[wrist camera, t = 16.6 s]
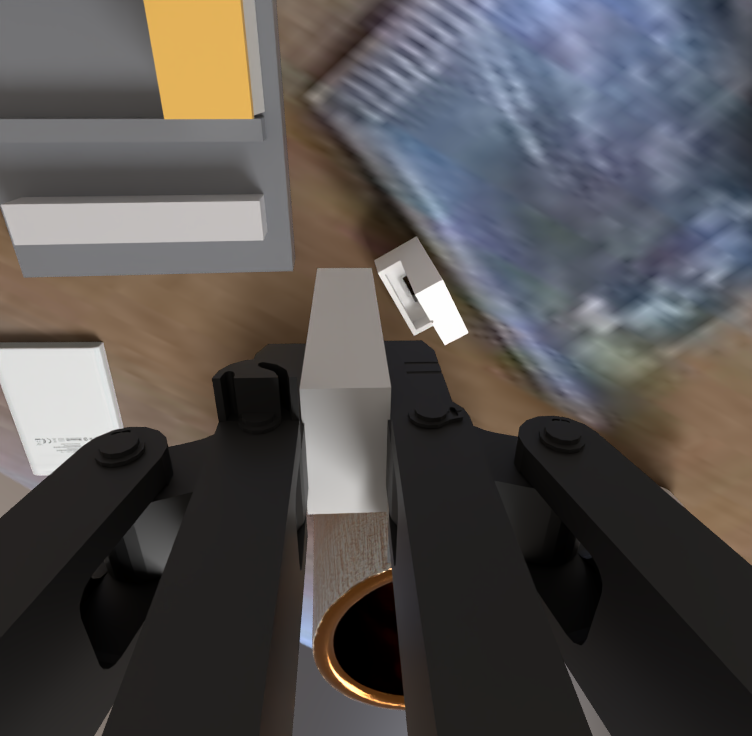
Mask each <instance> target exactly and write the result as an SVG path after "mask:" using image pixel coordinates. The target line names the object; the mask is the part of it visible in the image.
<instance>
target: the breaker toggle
mask: <svg viewBox="0 0 752 736" xmlns="http://www.w3.org/2000/svg"><path fill="white" fill-rule="evenodd" d="M143 1H144V6H145V12H146V18H147V23H148V29H149V35H150V41H151V46H152V52H153V58H154V63H155V69H156V75H157V81H158V86H159V92H160V98H161V103H162V109H163V115H164V119H254V115H257V114H260V113H262V112H265V109H264V98H263V87H262V76H261V65H260V54H259V43H258V32H257V20H256V9H255V0H143Z"/></svg>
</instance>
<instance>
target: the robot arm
mask: <svg viewBox="0 0 752 736" xmlns="http://www.w3.org/2000/svg"><path fill="white" fill-rule="evenodd" d="M212 382H213V388H214V394H215V400H216V407H217V413H218V419H219V423H218V426H217V429H216V431H215V434H214V435H211V436H209V437H207V438H204V439H201V440H197V441H194V442H190V443H185V444H180V445H176V446H171V447H168V444H167V439H166V437H165V436H164V435H163V434H162V433H161V432H160V431H158V430H154V429H151V428H147V427H127V428H122V429H116V430H112V431H110V432H108V433H105V434H103V435H100V436H98V437H95V438H94V439H92V440H91V441H89V442H88V443H86V444H85V445H83V446H82V447H81V448H80V449H79V450H77V451H76V452H75V453H74V454H73V455H72V456H71V457H69V458H68V459H67V460H66V461H65V462H64V463H63V464H61V465H60V466H59V467H58V468H57V469H56V470H55V471H53V472H52V473H51V474H50V475H49V476H48V477H47V478H45V479H44V480H43V481H42V482H41V483H40V484H39V485H37V486H36V487H35V488H34V489H33V490H32V491H31V492H30V493H28V494H27V495H26V496H25V497H24V498H23V499H22V500H20V501H19V502H18V503H17V504H16V505H15V506H14V507H12V508H11V509H10V510H9V511H8V512H7V513H6V514H4V515H3V516H2V517H1V518H0V736H94V735H95V734H96V732H97V730H98V728H99V727H100V725H101V724H102V722H103V720H104V719H105V717H106V715H107V714H108V712H109V710H110V709H111V707H112V706H113V707H112V710H111V713H110V715H109V718H108V721H107V723H106V726H105V728H104V731H103V734H102V736H292V731H293V719H294V706H295V692H296V680H297V667H298V654H299V641H300V628H301V615H302V602H303V589H304V576H305V564H306V551H307V538H308V534H307V520H306V511H307V508H308V514H335V513H367V512H387V509H388V508H389V519H388V550H387V563H391V568H392V578H393V589H394V599H395V609H396V619H397V630H398V640H399V650H400V660H401V670H402V681H403V691H404V701H405V711H406V721H407V732H408V736H592V733H591V730H590V728H589V725H588V723H587V720H586V717H585V715H584V712H583V710H582V707H581V705H580V702H579V699H578V697H577V694H576V691H575V689H574V686H573V684H572V681H571V678H570V676H569V674H568V671H567V668H566V666H567V667H568V669H569V670H570V672H571V673H572V675H573V676H574V678H575V680H576V681H577V683H578V684H579V686H580V687H581V689H582V691H583V692H584V694H585V695H586V697H587V698H588V700H589V701H590V703H591V705H592V706H593V708H594V709H595V711H596V713H597V714H598V715H599V717H600V719H601V720H602V722H603V723H604V725H605V727H606V728H607V730H608V731H609V733H610V734H611V736H752V565H750V564H749V563H748V562H747V561H746V560H745V559H743V558H742V557H741V556H740V555H739V554H738V553H736V552H735V551H734V550H733V549H732V548H731V547H729V546H728V545H727V544H726V543H725V542H724V541H723V540H721V539H720V538H719V537H718V536H717V535H716V534H714V533H713V532H712V531H711V530H710V529H709V528H707V527H706V526H705V525H704V524H703V523H702V522H700V521H699V520H698V519H697V518H696V517H695V516H693V515H692V514H691V513H690V512H689V511H688V510H686V509H685V508H684V507H683V506H682V505H681V504H679V503H678V502H677V501H676V500H675V499H674V498H672V497H671V496H670V495H669V494H668V493H667V492H665V491H664V490H663V489H662V488H661V487H660V486H658V485H657V484H656V483H655V482H654V481H653V480H652V479H650V478H649V477H648V476H647V475H646V474H645V473H643V472H642V471H641V470H640V469H639V468H638V467H636V466H635V465H634V464H633V463H632V462H631V461H629V460H628V459H627V458H626V457H625V456H624V455H622V454H621V453H620V452H619V451H618V450H617V449H615V448H614V447H613V446H612V445H611V444H610V443H608V442H607V441H606V440H605V439H604V438H603V437H601V436H600V435H599V434H598V433H597V432H595V431H594V430H592V429H591V428H589V427H588V426H586V425H585V424H582V423H579V422H577V421H574V420H571V419H569V418H565V417H559V416H539V417H535V418H532V419H529V420H526V421H525V422H524V423H523V424H522V425H521V426H520V428H519V434H518V437H516V436H511V435H505V434H499V433H494V432H490V431H486V430H483V429H480V428H478V427H475V426H473V424H472V422H471V419H470V416H469V415H468V414H467V412H466V411H465V410H464V408H462V407H460V406H459V405H457V404H456V403H454V402H452V400H451V397H450V394H449V391H448V388H447V385H446V383H445V380H444V377H443V374H442V373H441V368H440V366H439V364H438V360H437V357H436V354H435V351H434V350H433V349H432V348H431V347H429V346H428V345H427V344H426V343H424V342H423V341H422V340H420V341H384V340H383V334H382V328H381V322H380V316H379V310H378V303H377V297H376V291H375V285H374V279H373V273H372V268H317V275H316V281H315V288H314V295H313V302H312V308H311V315H310V322H309V328H308V335H307V342H306V344H268V345H266V346H265V347H264V348H263V349H262V350H260V351H259V352H258V353H257V354H256V355H255V357H254V359H253V360H244V361H241V362H237V363H234V364H230V365H228V366H227V367H225V368H223V369H221V370H219V371H218V372H217V373H216V375H215V376H214V377H213V378H212ZM564 662H565V663H564ZM565 664H566V665H565Z"/></svg>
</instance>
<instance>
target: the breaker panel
mask: <svg viewBox="0 0 752 736" xmlns="http://www.w3.org/2000/svg"><path fill="white" fill-rule="evenodd" d="M255 9H256V20H257V32H258V43H259V54H260V65H261V76H262V87H263V98H264V109H265V112H262V113H260V114H257V115H254V119H164V115H163V109H162V103H161V98H160V92H159V86H158V81H157V75H156V69H155V63H154V58H153V52H152V46H151V41H150V35H149V29H148V23H147V18H146V12H145V6H144V1H143V0H0V208H1V211H2V214H3V217H4V220H5V223H6V226H7V229H8V232H9V235H10V238H11V241H12V244H13V247H14V249H15V252H16V255H17V258H18V261H19V264H20V267H21V270H22V273H23V276H24V277H63V276H105V275H146V274H188V273H230V272H271V271H293V269H294V263H295V247H294V234H293V220H292V207H291V194H290V180H289V167H288V153H287V140H286V126H285V113H284V99H283V86H282V73H281V59H280V46H279V32H278V19H277V5H276V0H255Z"/></svg>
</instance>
